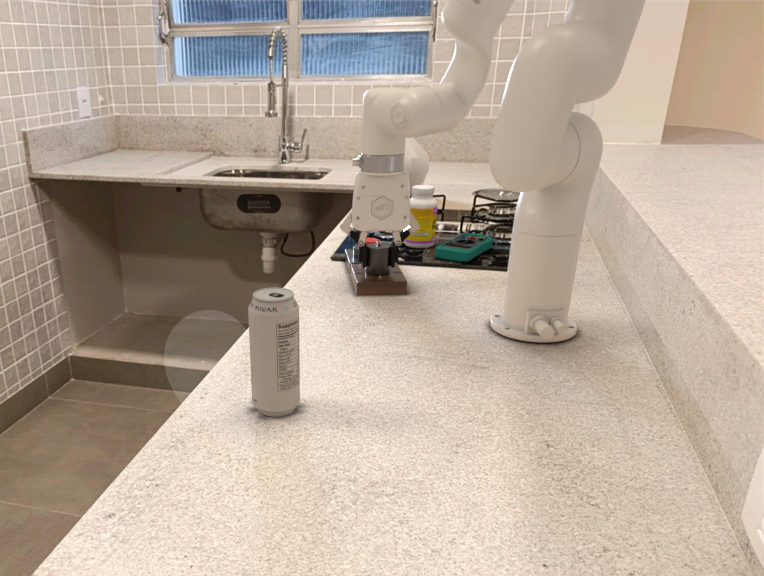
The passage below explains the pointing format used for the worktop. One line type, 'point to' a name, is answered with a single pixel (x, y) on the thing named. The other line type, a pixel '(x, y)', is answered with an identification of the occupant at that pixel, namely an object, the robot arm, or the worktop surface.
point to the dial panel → (378, 281)
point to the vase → (415, 163)
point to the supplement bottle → (423, 217)
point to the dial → (378, 258)
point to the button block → (352, 256)
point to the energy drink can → (274, 351)
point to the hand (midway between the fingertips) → (378, 264)
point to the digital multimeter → (464, 247)
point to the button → (371, 240)
